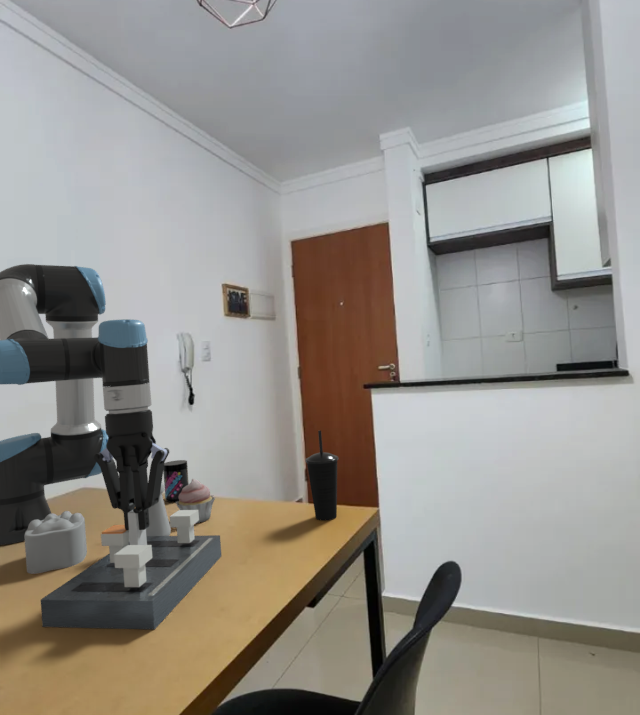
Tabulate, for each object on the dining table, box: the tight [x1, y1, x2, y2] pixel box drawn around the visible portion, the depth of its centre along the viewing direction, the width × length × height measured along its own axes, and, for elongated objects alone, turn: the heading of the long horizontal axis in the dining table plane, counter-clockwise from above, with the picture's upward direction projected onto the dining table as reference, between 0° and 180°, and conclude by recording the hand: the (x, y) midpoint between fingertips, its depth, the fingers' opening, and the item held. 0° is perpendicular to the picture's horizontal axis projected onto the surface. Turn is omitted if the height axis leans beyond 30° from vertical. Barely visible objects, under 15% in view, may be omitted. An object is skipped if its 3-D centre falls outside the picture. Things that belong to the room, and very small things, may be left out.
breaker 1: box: [114, 545, 152, 587], centre depth 72 cm, size 4×4×5 cm
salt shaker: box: [146, 482, 172, 536], centre depth 101 cm, size 6×6×13 cm
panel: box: [40, 534, 222, 630], centre depth 81 cm, size 18×25×4 cm
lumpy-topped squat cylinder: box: [24, 510, 88, 575], centre depth 98 cm, size 10×13×9 cm
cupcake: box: [174, 478, 216, 524], centre depth 116 cm, size 9×9×10 cm
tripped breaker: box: [100, 524, 130, 563], centre depth 82 cm, size 4×4×6 cm
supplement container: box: [163, 459, 190, 503], centre depth 136 cm, size 7×7×10 cm
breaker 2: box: [169, 509, 199, 543], centre depth 89 cm, size 4×4×5 cm
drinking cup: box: [304, 430, 339, 522], centre depth 110 cm, size 8×8×20 cm
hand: (138, 548), depth 81 cm, fingers closed
